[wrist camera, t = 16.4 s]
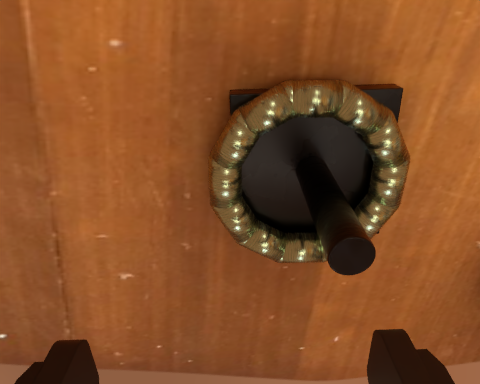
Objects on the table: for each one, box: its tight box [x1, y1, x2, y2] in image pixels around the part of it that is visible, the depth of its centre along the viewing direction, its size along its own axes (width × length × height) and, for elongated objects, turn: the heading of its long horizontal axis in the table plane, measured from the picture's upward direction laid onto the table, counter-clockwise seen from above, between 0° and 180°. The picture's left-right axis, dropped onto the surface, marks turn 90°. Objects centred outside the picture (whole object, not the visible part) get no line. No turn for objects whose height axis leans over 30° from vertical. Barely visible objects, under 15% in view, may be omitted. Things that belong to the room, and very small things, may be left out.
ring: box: [208, 80, 410, 263], centre depth 20 cm, size 11×11×2 cm
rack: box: [230, 84, 403, 275], centre depth 18 cm, size 9×9×9 cm
